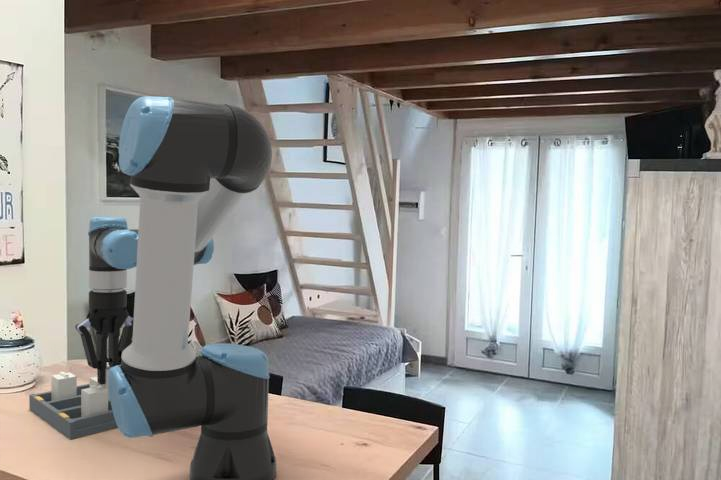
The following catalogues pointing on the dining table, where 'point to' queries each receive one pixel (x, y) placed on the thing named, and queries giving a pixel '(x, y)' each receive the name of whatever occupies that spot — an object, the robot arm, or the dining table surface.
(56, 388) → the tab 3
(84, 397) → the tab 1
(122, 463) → the dining table surface
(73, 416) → the divided tray
